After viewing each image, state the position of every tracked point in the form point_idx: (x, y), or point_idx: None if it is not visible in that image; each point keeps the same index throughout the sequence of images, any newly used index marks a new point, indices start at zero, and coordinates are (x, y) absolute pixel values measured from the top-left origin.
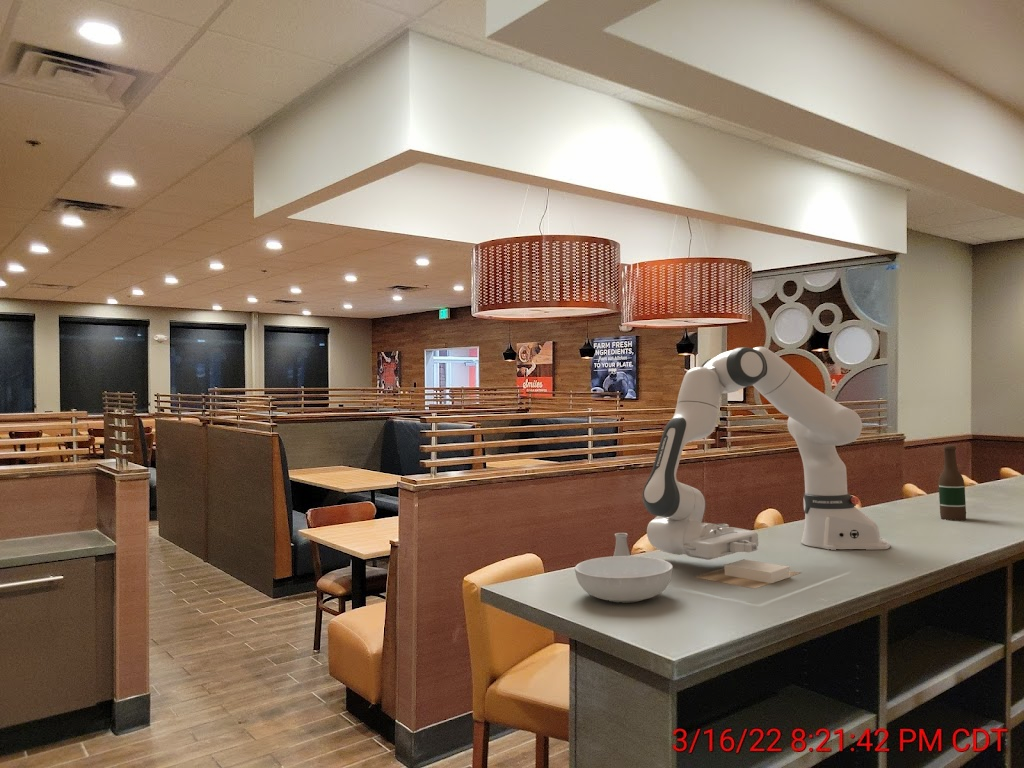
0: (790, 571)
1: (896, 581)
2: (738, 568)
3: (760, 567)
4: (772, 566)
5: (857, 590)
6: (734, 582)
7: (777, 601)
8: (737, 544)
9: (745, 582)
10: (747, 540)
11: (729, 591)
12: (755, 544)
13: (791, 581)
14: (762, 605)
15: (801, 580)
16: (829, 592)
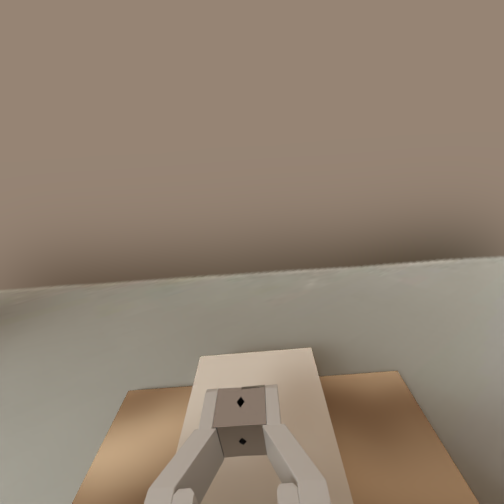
0: (121, 422)
1: (133, 284)
2: (351, 498)
3: None
4: None
5: (221, 284)
6: (426, 472)
7: (399, 306)
8: (311, 463)
9: (377, 437)
10: (159, 475)
11: (497, 423)
12: (222, 388)
13: None
14: (452, 305)
15: None
16: (263, 295)
